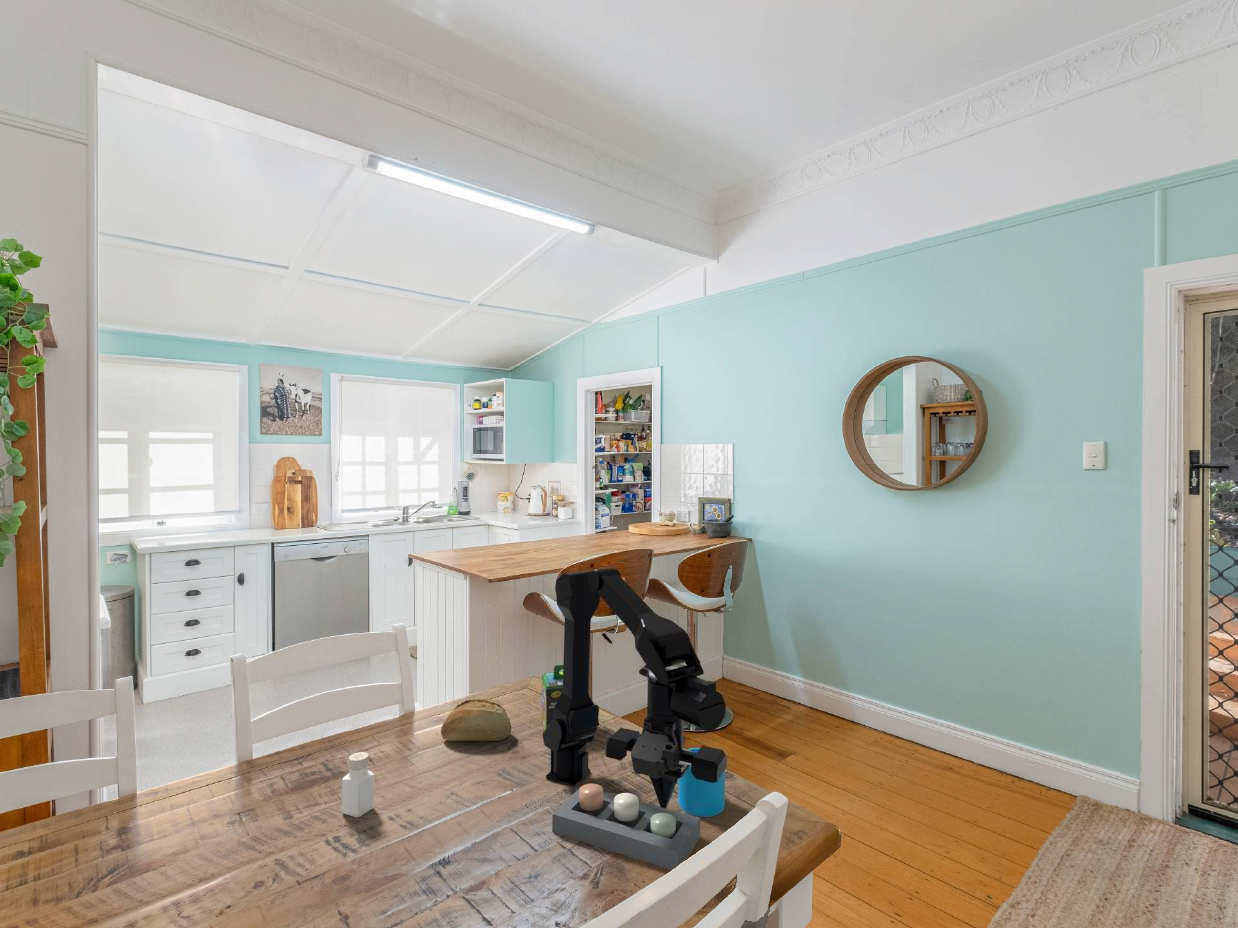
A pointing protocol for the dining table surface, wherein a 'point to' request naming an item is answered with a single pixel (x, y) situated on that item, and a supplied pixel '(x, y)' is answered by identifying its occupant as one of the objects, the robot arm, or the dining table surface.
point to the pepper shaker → (358, 786)
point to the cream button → (626, 806)
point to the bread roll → (477, 722)
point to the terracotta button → (591, 797)
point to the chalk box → (551, 693)
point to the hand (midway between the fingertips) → (664, 807)
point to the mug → (701, 794)
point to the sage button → (663, 825)
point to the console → (627, 831)
